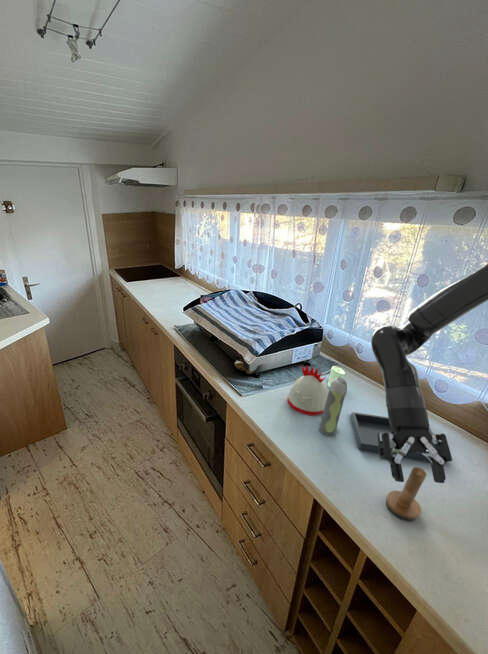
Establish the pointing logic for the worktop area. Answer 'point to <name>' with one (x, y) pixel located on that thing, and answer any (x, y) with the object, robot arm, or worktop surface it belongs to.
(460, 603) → the worktop surface
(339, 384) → the grey green rod
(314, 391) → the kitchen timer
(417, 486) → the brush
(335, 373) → the light green cylinder
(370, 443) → the tray
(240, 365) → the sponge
